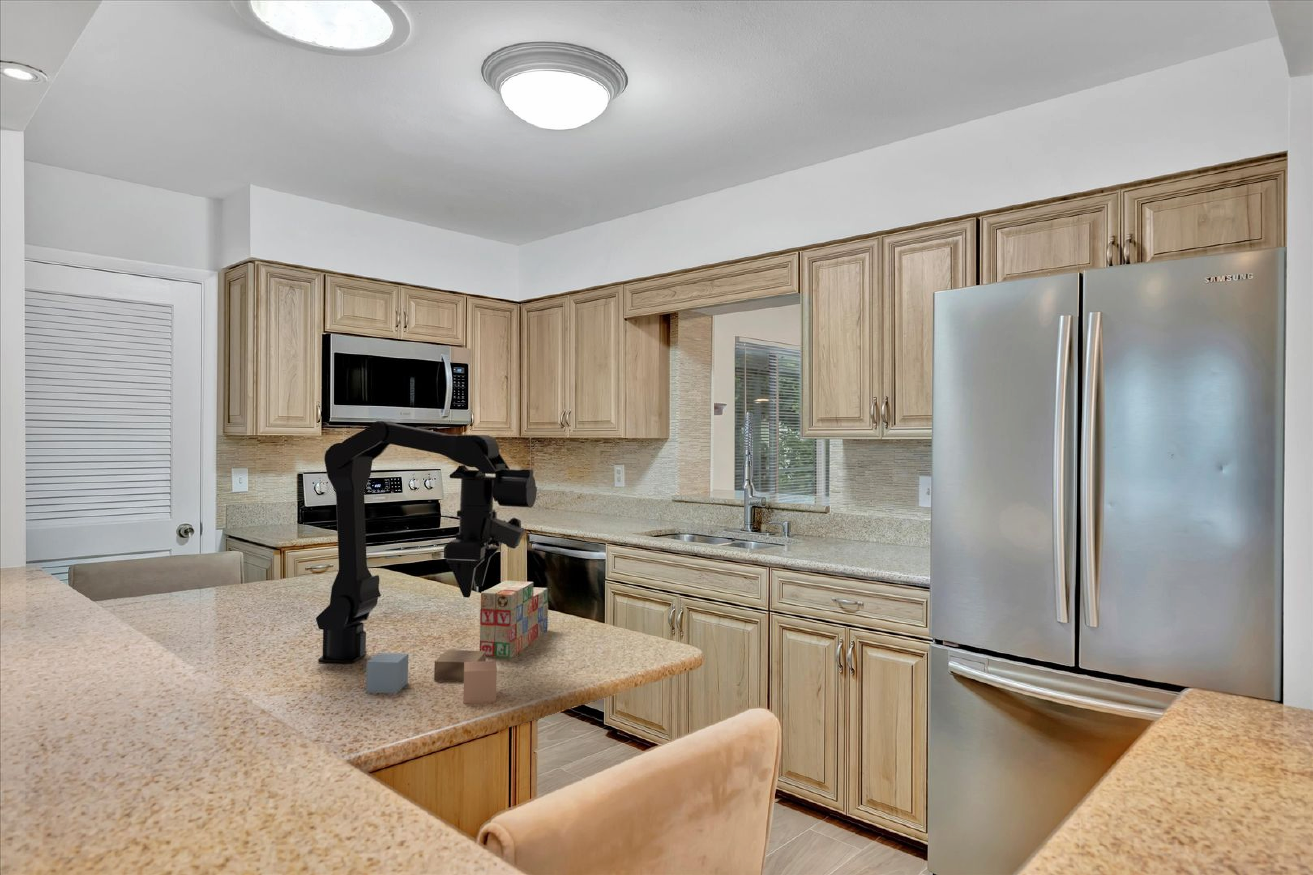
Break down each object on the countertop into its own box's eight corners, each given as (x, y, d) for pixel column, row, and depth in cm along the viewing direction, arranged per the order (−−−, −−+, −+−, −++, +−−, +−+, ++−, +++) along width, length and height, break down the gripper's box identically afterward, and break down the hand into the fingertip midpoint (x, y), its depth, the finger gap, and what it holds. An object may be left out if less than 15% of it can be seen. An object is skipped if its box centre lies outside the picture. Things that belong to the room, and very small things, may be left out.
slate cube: (365, 692, 121) (366, 661, 121) (378, 682, 126) (378, 652, 126) (396, 693, 121) (397, 662, 121) (407, 683, 126) (408, 653, 126)
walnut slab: (434, 681, 127) (434, 661, 127) (446, 669, 134) (447, 649, 134) (475, 683, 127) (475, 662, 127) (485, 670, 134) (485, 650, 134)
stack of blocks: (520, 628, 163) (521, 572, 163) (548, 630, 162) (549, 573, 162) (478, 656, 142) (480, 591, 142) (510, 659, 141) (511, 593, 141)
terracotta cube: (463, 703, 117) (464, 671, 117) (463, 692, 122) (464, 662, 122) (496, 701, 118) (496, 669, 118) (495, 691, 123) (495, 660, 123)
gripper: (511, 511, 125) (507, 605, 125) (530, 501, 144) (527, 583, 144) (444, 509, 125) (441, 602, 125) (472, 499, 144) (469, 581, 144)
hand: (473, 591), depth 135 cm, fingers open, 9 cm apart
